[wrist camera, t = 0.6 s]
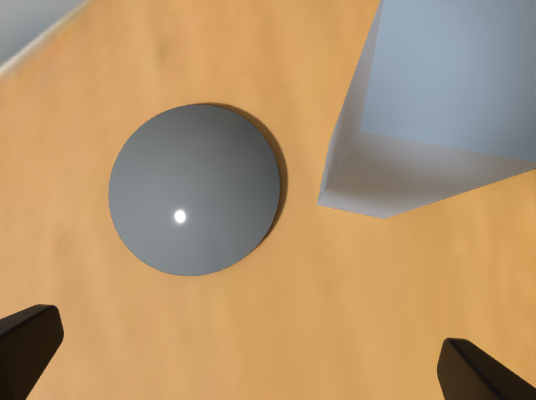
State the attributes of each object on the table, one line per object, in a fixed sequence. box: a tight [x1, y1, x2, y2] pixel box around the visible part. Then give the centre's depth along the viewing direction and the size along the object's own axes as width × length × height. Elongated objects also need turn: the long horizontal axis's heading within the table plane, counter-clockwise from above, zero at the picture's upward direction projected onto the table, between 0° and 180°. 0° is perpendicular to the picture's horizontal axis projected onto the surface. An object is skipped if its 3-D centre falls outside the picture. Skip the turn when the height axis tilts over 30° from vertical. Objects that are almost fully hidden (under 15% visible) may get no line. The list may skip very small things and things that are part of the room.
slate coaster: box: [108, 104, 280, 276], centre depth 21 cm, size 12×12×1 cm
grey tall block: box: [317, 0, 536, 219], centre depth 14 cm, size 4×4×13 cm
